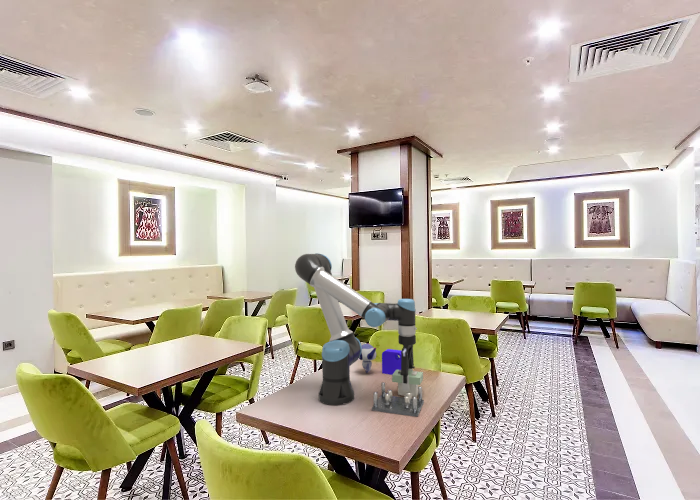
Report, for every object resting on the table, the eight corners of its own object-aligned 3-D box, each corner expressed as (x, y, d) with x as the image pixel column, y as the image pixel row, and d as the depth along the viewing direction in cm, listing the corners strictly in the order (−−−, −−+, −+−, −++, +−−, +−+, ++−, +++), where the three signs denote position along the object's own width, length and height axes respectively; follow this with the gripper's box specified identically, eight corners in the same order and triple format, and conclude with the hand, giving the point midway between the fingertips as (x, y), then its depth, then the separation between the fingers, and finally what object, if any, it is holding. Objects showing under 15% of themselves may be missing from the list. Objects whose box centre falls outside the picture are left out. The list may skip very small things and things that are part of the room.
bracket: (402, 376, 186) (401, 353, 186) (382, 373, 191) (381, 350, 191) (413, 366, 201) (413, 345, 201) (394, 364, 207) (394, 342, 207)
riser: (398, 394, 161) (397, 380, 161) (400, 391, 165) (399, 378, 165) (416, 397, 159) (416, 382, 159) (418, 393, 162) (417, 379, 162)
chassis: (371, 410, 146) (371, 393, 146) (381, 397, 159) (381, 381, 159) (417, 416, 139) (417, 399, 139) (423, 402, 152) (423, 386, 153)
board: (392, 382, 160) (392, 373, 160) (396, 376, 168) (396, 367, 168) (419, 385, 156) (419, 376, 156) (423, 378, 164) (423, 370, 164)
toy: (354, 370, 195) (354, 342, 195) (372, 368, 198) (371, 340, 198) (361, 377, 185) (360, 347, 185) (379, 375, 188) (379, 345, 188)
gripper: (410, 340, 151) (411, 396, 151) (419, 330, 171) (420, 380, 170) (392, 339, 154) (393, 394, 153) (403, 329, 173) (404, 378, 173)
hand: (407, 386), depth 162 cm, fingers closed on board, 8 cm apart
